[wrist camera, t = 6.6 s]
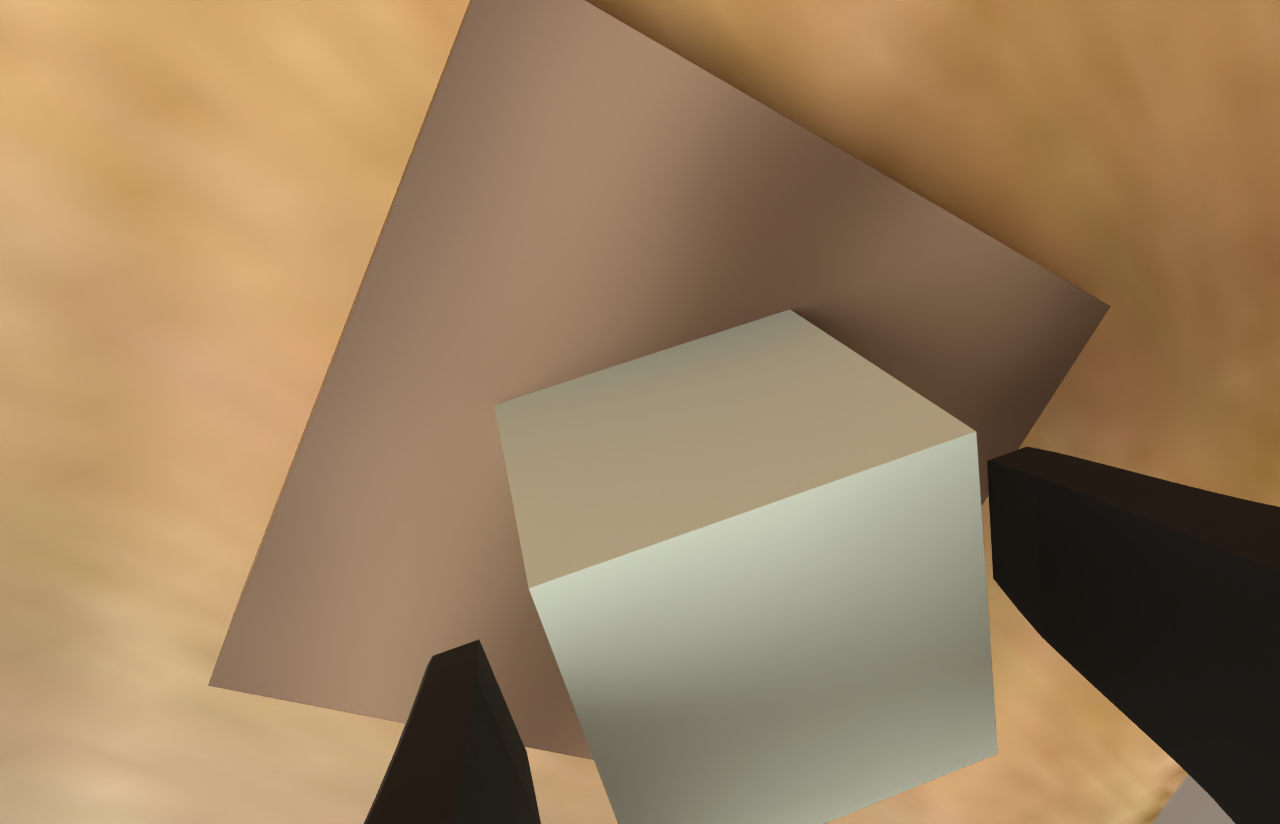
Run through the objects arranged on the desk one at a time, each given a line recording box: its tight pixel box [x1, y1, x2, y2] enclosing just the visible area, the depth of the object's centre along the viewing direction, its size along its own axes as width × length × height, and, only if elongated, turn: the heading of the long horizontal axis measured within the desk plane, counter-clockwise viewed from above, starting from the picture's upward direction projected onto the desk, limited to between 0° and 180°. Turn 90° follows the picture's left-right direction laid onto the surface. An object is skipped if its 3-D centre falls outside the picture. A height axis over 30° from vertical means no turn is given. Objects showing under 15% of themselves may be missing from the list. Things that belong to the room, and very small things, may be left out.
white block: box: [494, 310, 998, 824], centre depth 12 cm, size 5×5×5 cm
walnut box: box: [208, 0, 1110, 760], centre depth 15 cm, size 12×12×3 cm
